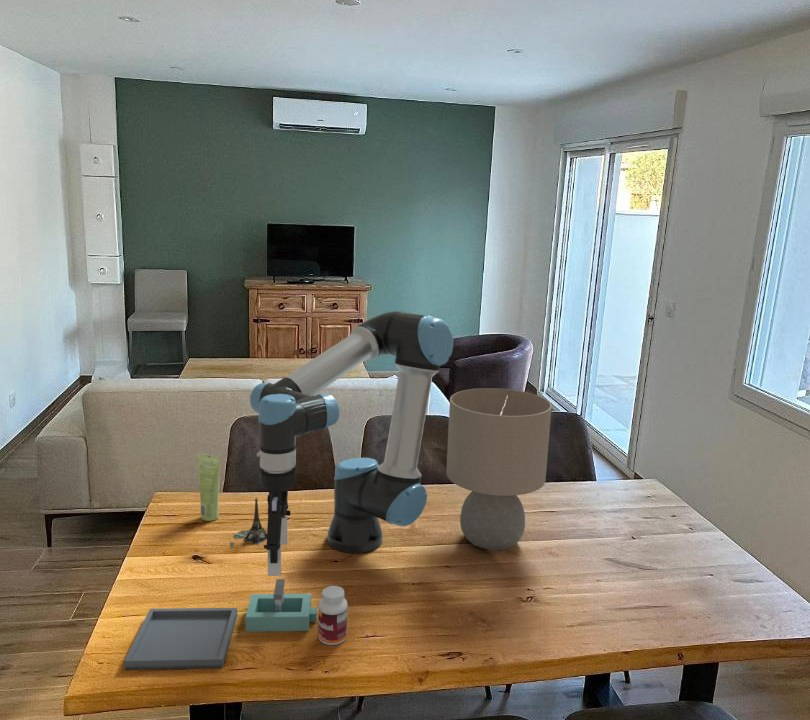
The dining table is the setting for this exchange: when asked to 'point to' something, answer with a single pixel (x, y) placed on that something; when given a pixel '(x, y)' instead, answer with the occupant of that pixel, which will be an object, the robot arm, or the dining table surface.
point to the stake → (279, 595)
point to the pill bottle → (332, 616)
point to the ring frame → (280, 613)
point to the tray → (182, 639)
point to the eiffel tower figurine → (252, 531)
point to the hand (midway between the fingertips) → (278, 558)
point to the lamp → (497, 460)
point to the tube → (209, 486)
